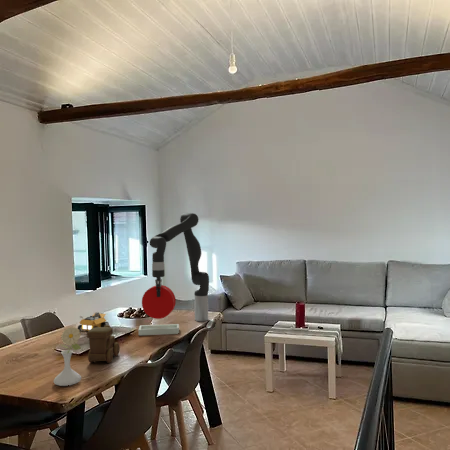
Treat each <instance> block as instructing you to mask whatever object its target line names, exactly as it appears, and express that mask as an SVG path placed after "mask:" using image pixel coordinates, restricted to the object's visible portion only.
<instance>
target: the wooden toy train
mask: <svg viewBox="0 0 450 450" xmlns="http://www.w3.org/2000/svg"><path fill="white" fill-rule="evenodd" d="M113 329H114V328H113V327H111V326H110V324H109V325H105V326H104V327H96V328H92V329H90V330H89V331H88V330H87V332H86V338H87V339H88V340H89V351H88V353H87V359H88V362H89V363H90V364H92V363H94V362H106V363H107V364H110V363H112V362H113V360H114V359H113V358H114V357H118V355H119V353H120V348H121V347H120V343H119V342H117V341H116V338H115V335H113V333H114V332H113V331H114V330H113Z"/></svg>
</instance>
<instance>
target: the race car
mask: <svg viewBox="0 0 450 450" xmlns="http://www.w3.org/2000/svg"><path fill="white" fill-rule="evenodd" d="M106 315H107V313H100V312H98V311H97V312H94V313H93V315H90V316H87V317H85V318H84V316H83V315H80V316H79V319H81V320H80V321H79V322H78V323H79V325H78V326H77V328H78V329H79V330H80V331H79V332H80V333H81V332H82V333H83V332H84V331H87V332H88V331H89V330H90V329H92V328H96V327H104V326H105V325H110V324H109V322H108V321H107V319H106V318H105V317H106Z"/></svg>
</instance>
